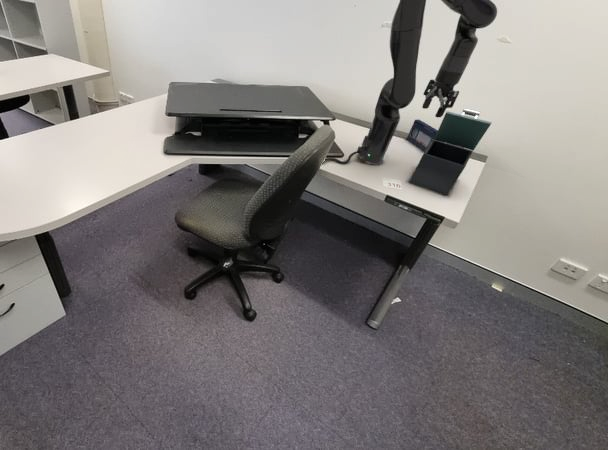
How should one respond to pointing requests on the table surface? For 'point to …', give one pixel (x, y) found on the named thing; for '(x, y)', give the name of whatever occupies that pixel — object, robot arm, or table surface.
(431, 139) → the vhs cassette tape
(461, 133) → the bin lid
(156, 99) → the table surface
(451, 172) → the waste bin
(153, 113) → the table surface
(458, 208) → the table surface
